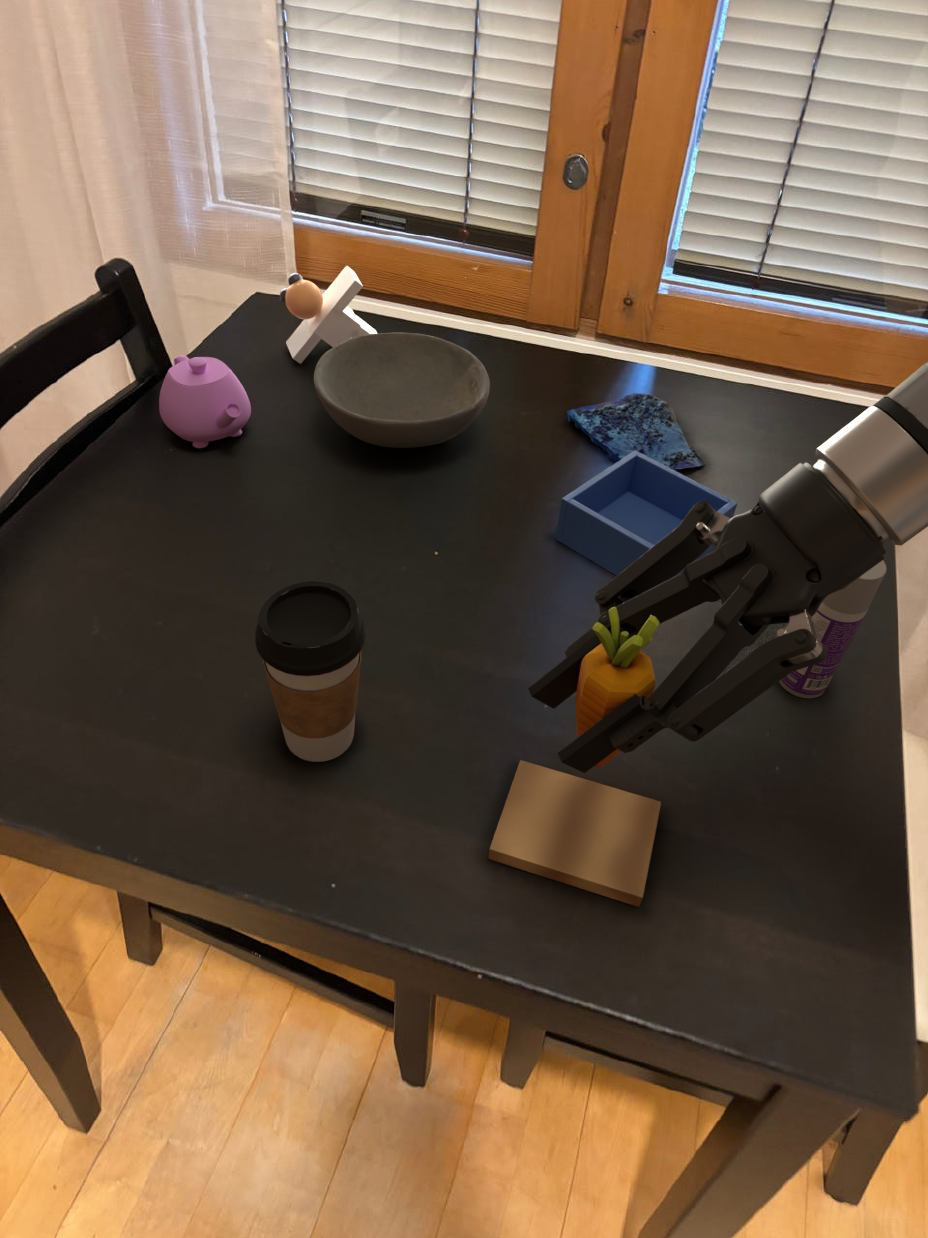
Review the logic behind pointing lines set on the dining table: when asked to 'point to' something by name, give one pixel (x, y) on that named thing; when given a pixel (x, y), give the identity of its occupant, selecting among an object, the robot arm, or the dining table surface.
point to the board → (577, 832)
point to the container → (835, 632)
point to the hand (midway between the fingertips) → (556, 729)
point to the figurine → (323, 313)
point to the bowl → (401, 388)
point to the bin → (631, 511)
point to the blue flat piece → (637, 430)
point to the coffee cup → (313, 665)
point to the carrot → (613, 673)
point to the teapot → (203, 400)
